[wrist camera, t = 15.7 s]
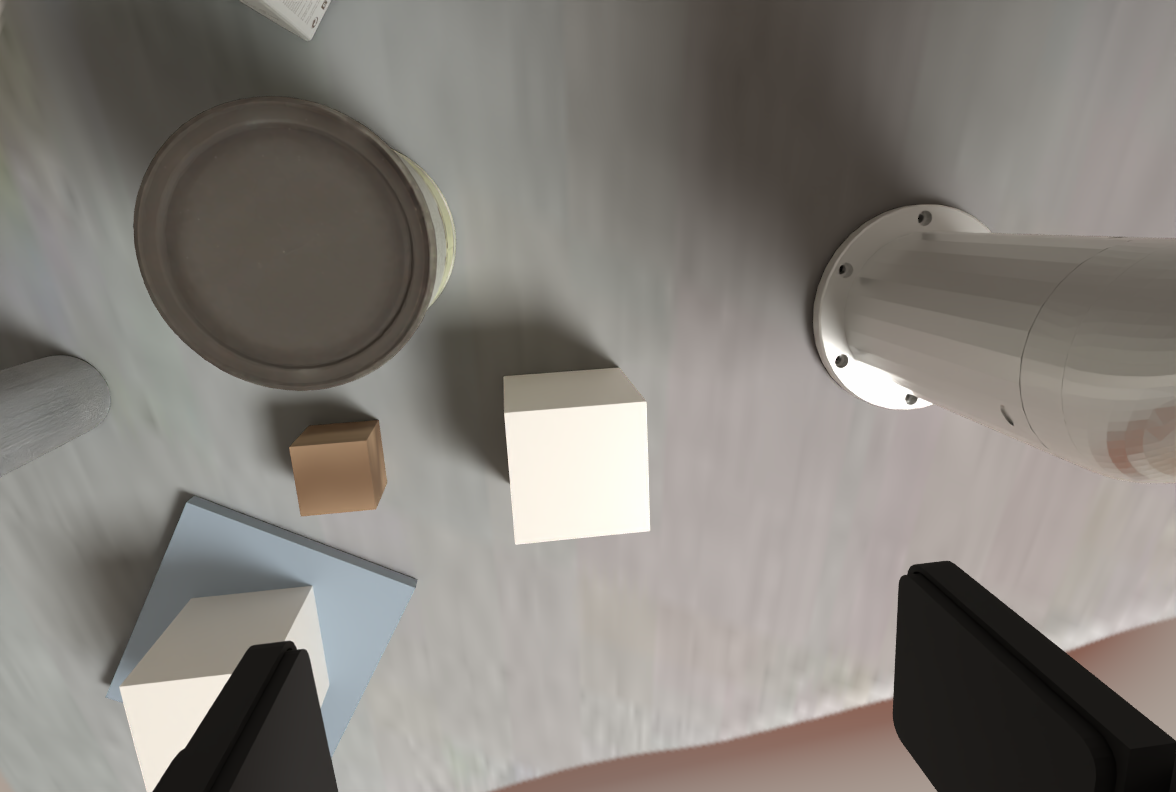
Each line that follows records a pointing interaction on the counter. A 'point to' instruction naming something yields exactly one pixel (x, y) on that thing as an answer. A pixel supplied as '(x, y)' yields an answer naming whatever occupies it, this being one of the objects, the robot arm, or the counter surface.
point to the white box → (210, 665)
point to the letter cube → (339, 467)
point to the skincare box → (292, 14)
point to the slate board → (268, 562)
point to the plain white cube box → (576, 455)
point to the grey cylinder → (47, 407)
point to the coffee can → (290, 242)
